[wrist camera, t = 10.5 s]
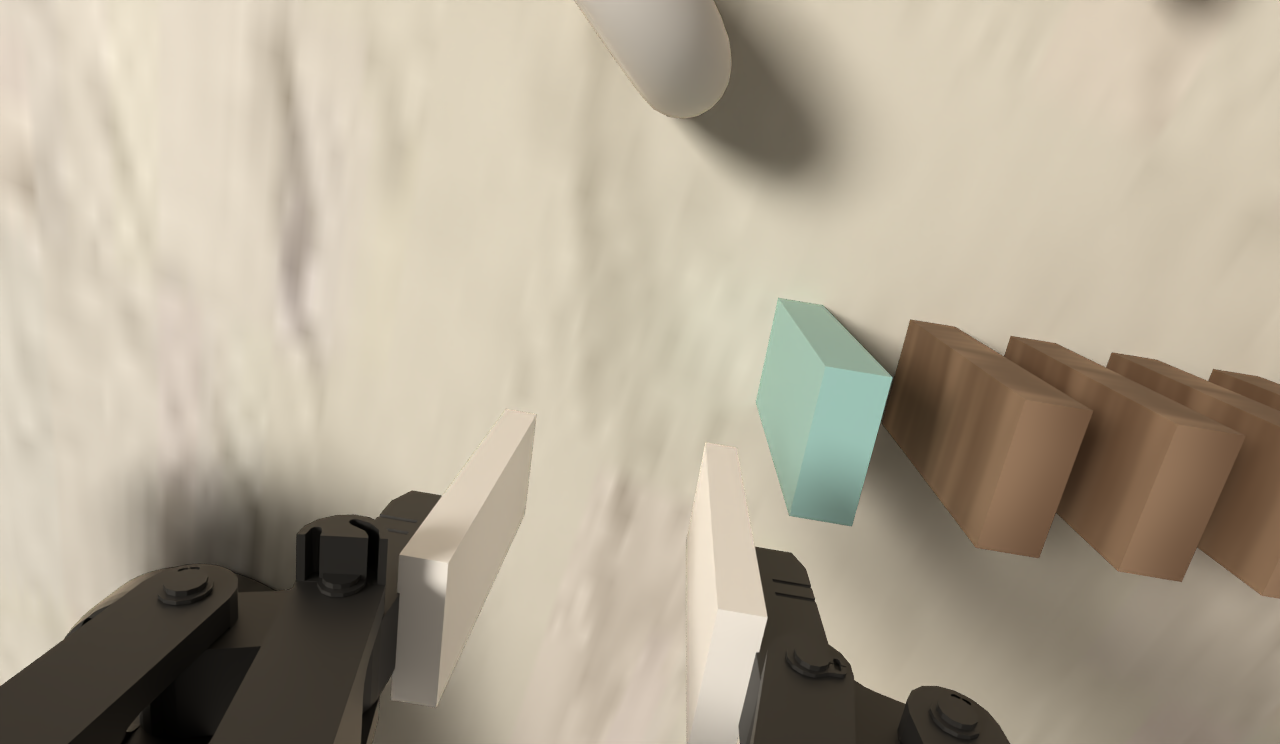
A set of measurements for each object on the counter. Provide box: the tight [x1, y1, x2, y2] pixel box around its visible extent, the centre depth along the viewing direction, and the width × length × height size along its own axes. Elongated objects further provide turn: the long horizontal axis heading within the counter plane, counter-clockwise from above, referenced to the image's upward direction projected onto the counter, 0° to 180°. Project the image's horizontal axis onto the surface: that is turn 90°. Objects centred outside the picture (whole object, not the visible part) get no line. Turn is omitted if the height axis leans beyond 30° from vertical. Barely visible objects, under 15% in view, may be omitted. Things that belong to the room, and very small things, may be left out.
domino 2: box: [1004, 336, 1246, 582], centre depth 26 cm, size 2×5×11 cm, turn 171°
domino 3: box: [1106, 353, 1280, 598], centre depth 26 cm, size 2×5×11 cm, turn 171°
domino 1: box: [882, 320, 1093, 558], centre depth 27 cm, size 2×5×11 cm, turn 171°
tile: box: [756, 298, 893, 526], centre depth 27 cm, size 2×5×11 cm, turn 171°
